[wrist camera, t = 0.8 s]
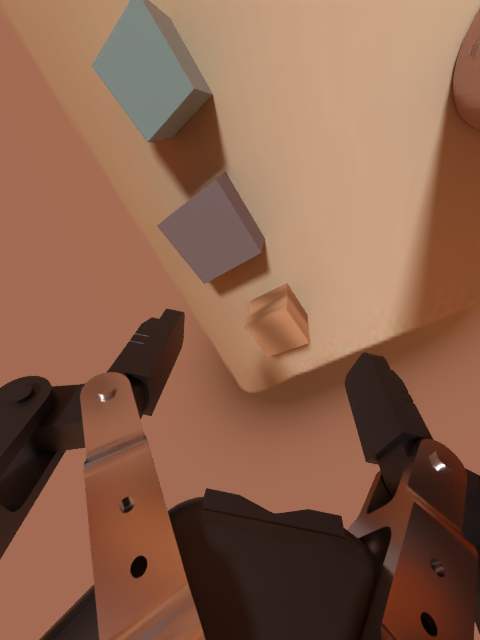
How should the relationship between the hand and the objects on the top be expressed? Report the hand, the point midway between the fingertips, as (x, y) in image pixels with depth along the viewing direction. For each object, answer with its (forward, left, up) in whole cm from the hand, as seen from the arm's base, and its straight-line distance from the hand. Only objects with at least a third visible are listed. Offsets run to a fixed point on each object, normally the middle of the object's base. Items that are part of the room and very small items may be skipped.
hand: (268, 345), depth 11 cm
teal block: (+12, -7, -19) cm, 23 cm away
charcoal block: (+6, +3, -19) cm, 20 cm away
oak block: (-4, +11, -19) cm, 22 cm away
